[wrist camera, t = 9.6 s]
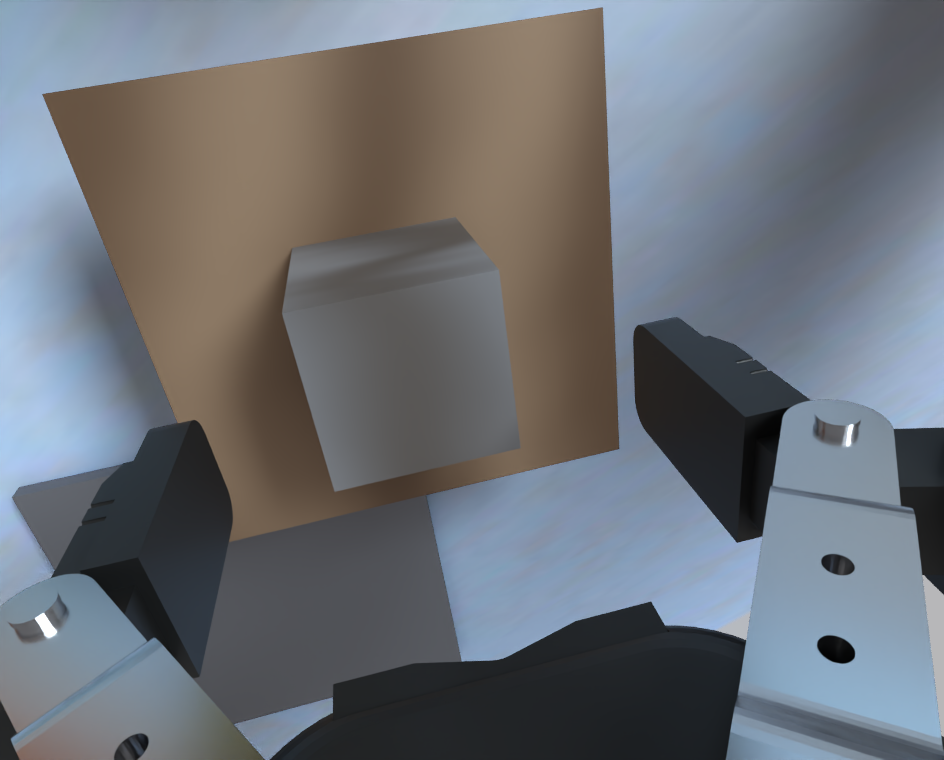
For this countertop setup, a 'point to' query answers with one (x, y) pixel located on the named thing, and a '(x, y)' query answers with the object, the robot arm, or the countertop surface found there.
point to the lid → (368, 259)
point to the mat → (298, 598)
